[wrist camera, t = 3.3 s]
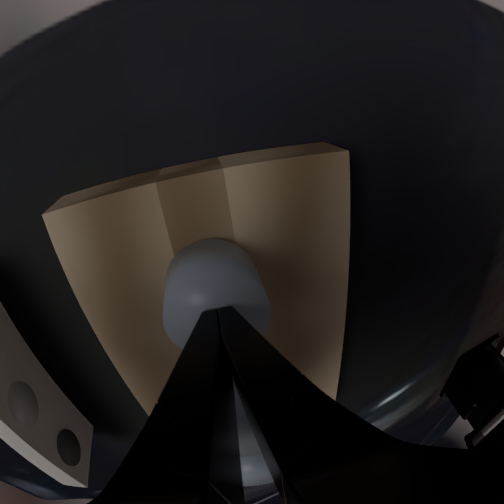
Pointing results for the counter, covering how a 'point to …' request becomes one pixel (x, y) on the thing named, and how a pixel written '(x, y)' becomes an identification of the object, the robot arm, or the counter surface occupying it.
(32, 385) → the white flat bar
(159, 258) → the board
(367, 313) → the counter surface
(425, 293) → the counter surface
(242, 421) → the button mid
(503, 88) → the counter surface
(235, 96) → the counter surface
